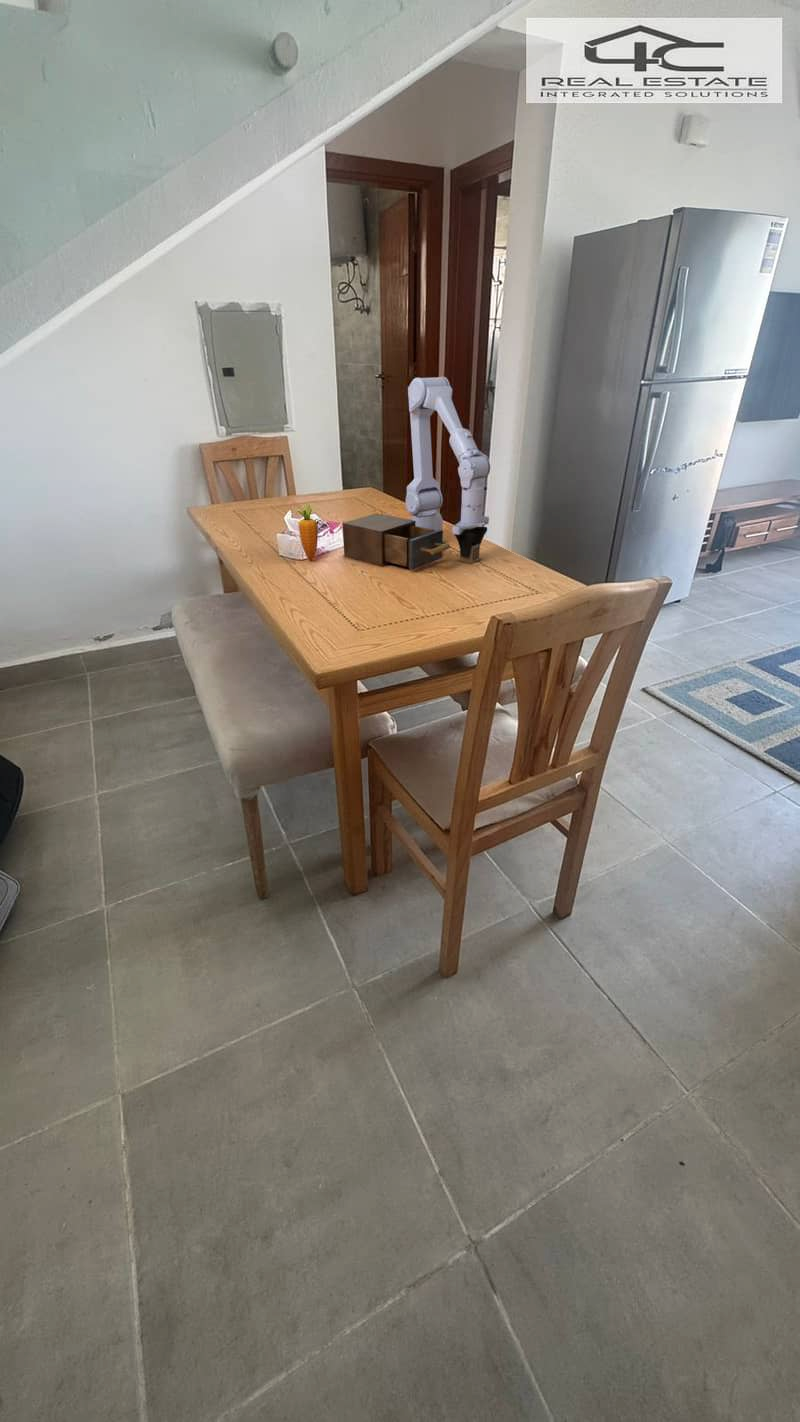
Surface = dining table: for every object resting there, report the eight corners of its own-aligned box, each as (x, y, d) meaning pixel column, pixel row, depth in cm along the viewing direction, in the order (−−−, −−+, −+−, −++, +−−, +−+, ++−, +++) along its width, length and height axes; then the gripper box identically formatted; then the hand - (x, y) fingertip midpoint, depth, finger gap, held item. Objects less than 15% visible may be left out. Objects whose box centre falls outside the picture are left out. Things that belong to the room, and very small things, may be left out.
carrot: (311, 564, 165) (306, 508, 157) (298, 561, 168) (292, 505, 160) (323, 560, 169) (319, 504, 161) (310, 557, 171) (306, 502, 163)
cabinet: (415, 554, 173) (415, 520, 168) (382, 566, 164) (381, 531, 159) (377, 545, 181) (377, 513, 176) (344, 556, 172) (342, 522, 167)
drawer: (456, 561, 164) (457, 533, 160) (426, 573, 156) (427, 544, 152) (404, 549, 174) (404, 522, 170) (374, 560, 166) (373, 532, 162)
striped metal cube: (467, 557, 170) (468, 539, 168) (479, 560, 168) (480, 542, 165) (459, 560, 168) (460, 542, 165) (471, 563, 165) (472, 545, 163)
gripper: (469, 511, 153) (466, 564, 160) (499, 501, 163) (495, 551, 170) (446, 507, 157) (445, 559, 164) (477, 498, 166) (474, 547, 174)
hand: (469, 555), depth 167 cm, fingers closed on striped metal cube, 4 cm apart
